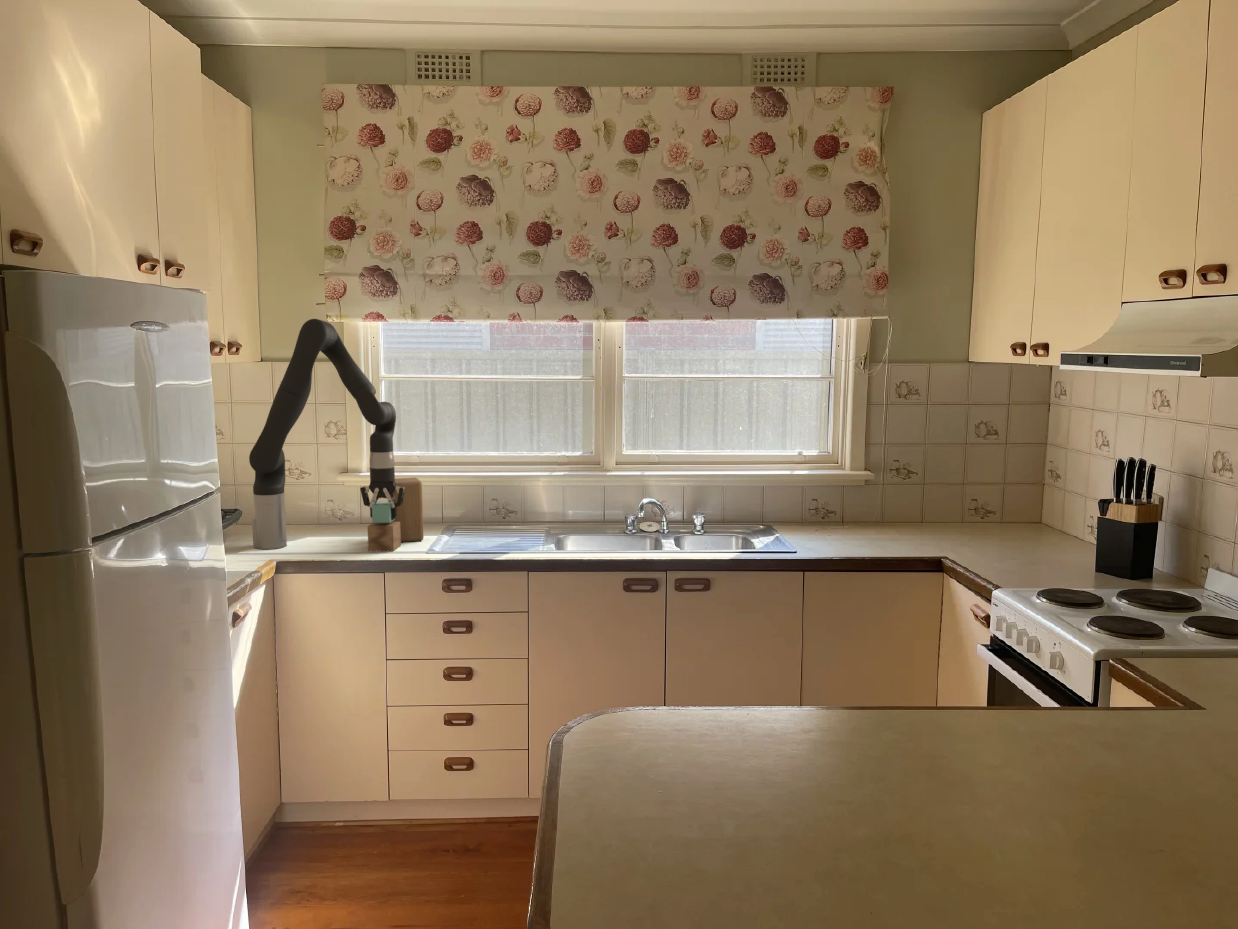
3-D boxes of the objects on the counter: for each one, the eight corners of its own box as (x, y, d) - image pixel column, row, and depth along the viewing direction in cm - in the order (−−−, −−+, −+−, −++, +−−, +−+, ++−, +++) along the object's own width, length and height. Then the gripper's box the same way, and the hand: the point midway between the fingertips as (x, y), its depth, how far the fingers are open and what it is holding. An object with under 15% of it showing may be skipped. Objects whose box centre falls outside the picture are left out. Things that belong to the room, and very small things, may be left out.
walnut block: (368, 551, 288) (367, 526, 287) (376, 546, 296) (375, 521, 295) (393, 551, 288) (392, 526, 287) (400, 546, 295) (400, 521, 294)
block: (389, 537, 308) (387, 478, 306) (419, 535, 312) (417, 477, 309) (393, 543, 299) (391, 482, 297) (424, 541, 303) (422, 480, 300)
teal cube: (372, 522, 288) (371, 505, 287) (377, 519, 293) (377, 502, 293) (389, 522, 288) (389, 505, 287) (394, 519, 293) (394, 502, 292)
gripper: (355, 467, 285) (357, 521, 287) (401, 467, 284) (402, 521, 286) (363, 464, 292) (365, 516, 295) (408, 464, 292) (409, 517, 294)
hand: (383, 519), depth 290 cm, fingers closed on teal cube, 5 cm apart
